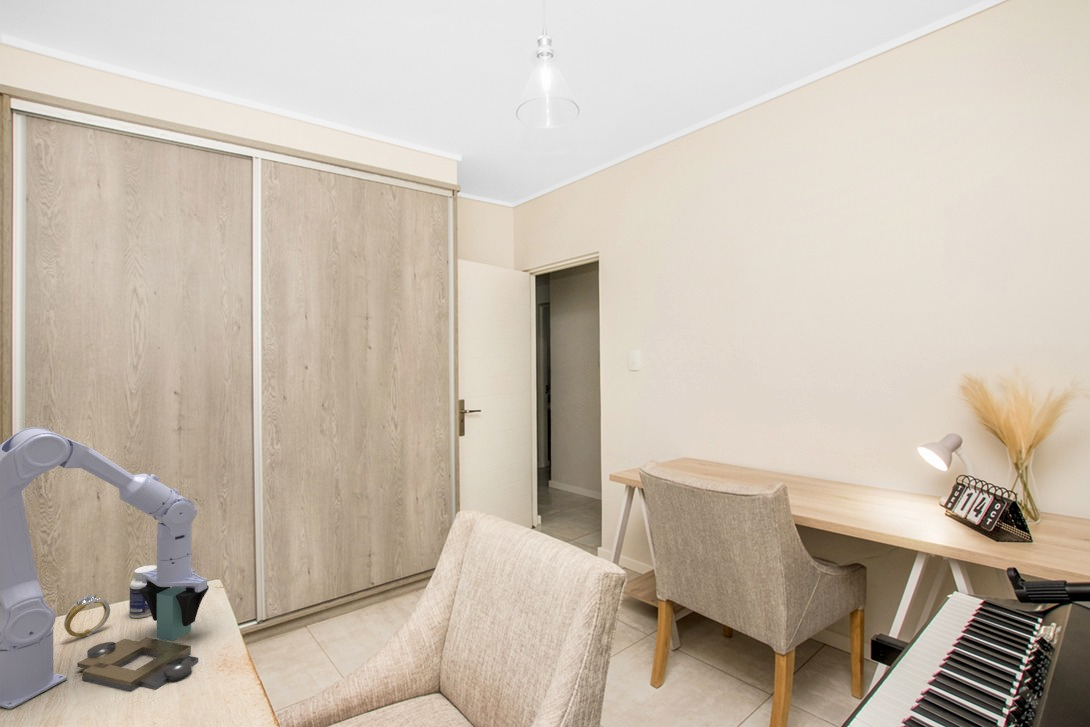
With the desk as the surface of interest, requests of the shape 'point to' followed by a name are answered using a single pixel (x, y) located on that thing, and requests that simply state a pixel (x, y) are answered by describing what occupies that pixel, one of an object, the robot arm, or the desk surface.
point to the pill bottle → (137, 601)
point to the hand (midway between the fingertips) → (174, 620)
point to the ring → (73, 611)
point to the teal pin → (170, 615)
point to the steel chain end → (168, 673)
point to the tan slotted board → (111, 654)
